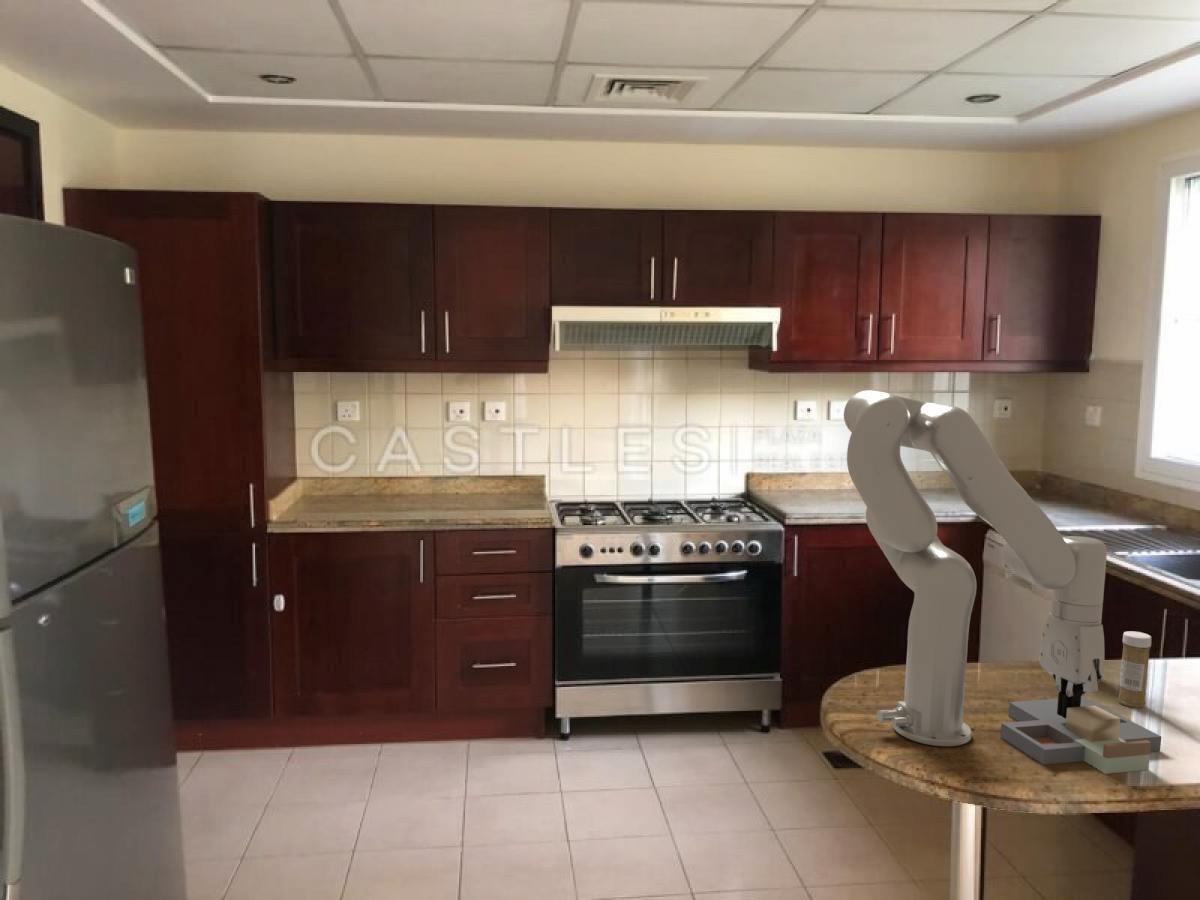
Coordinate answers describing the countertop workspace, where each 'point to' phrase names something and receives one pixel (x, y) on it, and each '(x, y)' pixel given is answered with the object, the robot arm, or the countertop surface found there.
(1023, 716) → the board
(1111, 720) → the birch block
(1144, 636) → the sprinkles bottle
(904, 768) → the countertop surface
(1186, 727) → the countertop surface
